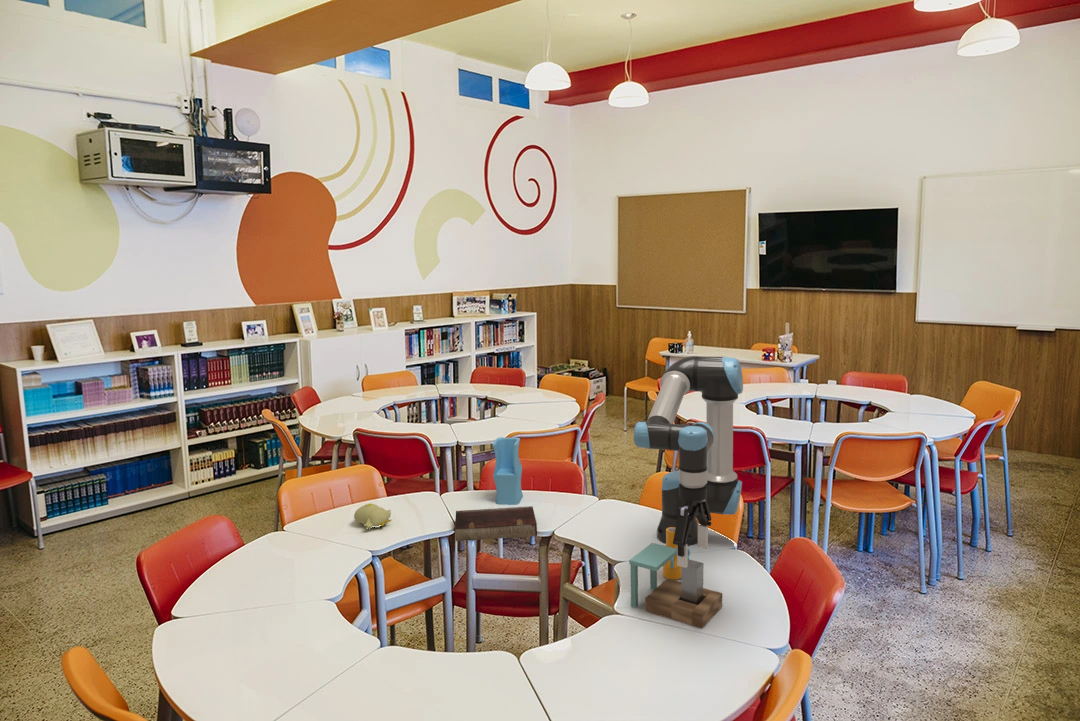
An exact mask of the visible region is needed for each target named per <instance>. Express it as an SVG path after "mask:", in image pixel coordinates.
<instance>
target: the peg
mask: <svg viewBox="0 0 1080 721" xmlns="http://www.w3.org/2000/svg"><path fill="white" fill-rule="evenodd" d="M689 559H690V558H689ZM689 559H688V567H687V568H684V567H681V578H680V580H681V581H680V582H681V600H682V601H685V602H689V603H692V604H696V605H699V604H700V603H701V602H702V601H703V588H704V562H701V561H696V560H692V559H690V560H689Z"/></svg>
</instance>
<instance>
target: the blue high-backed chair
mask: <svg viewBox="0 0 1080 721" xmlns="http://www.w3.org/2000/svg"><path fill="white" fill-rule="evenodd" d="M520 440H521V438H520V437H503V436H502V437H497V438H496V439H495V440H494V441H493V442H492V449H493V451H494V455H495V466H494V468H493V469H494V470H493V474H492V477H493V481H494V484H495V489H496V496H495V504H496V505H505V506H507V505H510V506H511V505H512V506H513V505H514V506H515V505H519V504H520V503H521V501H522V499H523V498H524V495H523V491H522V475H523V474H522V473H523V466H522V464H521V460H520V458H519V457H520V456H519V450H520V449H519V446H520V443H521V442H520Z"/></svg>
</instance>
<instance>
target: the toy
mask: <svg viewBox="0 0 1080 721" xmlns="http://www.w3.org/2000/svg"><path fill="white" fill-rule="evenodd" d="M391 514H392V511H391V509H388V510H386V509H385V508H384V507H382V506H379V505H377V504H375V503H366V504H364V505H362V506H360V507H359V508H357V510H355V512H354V514H353V518H354V520H355V521H356V523H358V524H359V523H362V524H365V525H363V526H364V527H365V530H367V528H371V527H372V526H379V525H381V526H382V527H384V526H385V525H386V524H388V523H390V522H392V519H390V518H391ZM385 523H386V524H385ZM362 524H361V525H362ZM379 528H380V527H375V528H374V527H373V528H372V529H379Z"/></svg>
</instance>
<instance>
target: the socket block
mask: <svg viewBox="0 0 1080 721" xmlns="http://www.w3.org/2000/svg"><path fill="white" fill-rule="evenodd" d="M644 602H645V604H644V605H645V612H647V613H650V614H653V615H658V616H661V617H663V618H667V619H670V620H673V621H677V622H680V623H683V624H687V625H690V626H693V627H695V628H696V627H697V628H699V629H703V628H704V627H705V626H706V625H707V624H708V623H709V622H710V620H711V619H713V617H714V616H715V615H716V614H717V613H718V612H719V611H720V610H721V609H722V607H723V593H722V592H719V591H715V590H712V589H708V588H704V587H703V601H702V602H701V603H700V604H699V605H696V604H692V603H689V602H685V601H682V600H681V581H679V580H676V579H675V580H672V579H668V578H665V580H663V582H661V583H660V585H657V588H656V589H655V590H652V591H651V592H650V593H649V594H648V595H647V596H646V597H645V598H644Z"/></svg>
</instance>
